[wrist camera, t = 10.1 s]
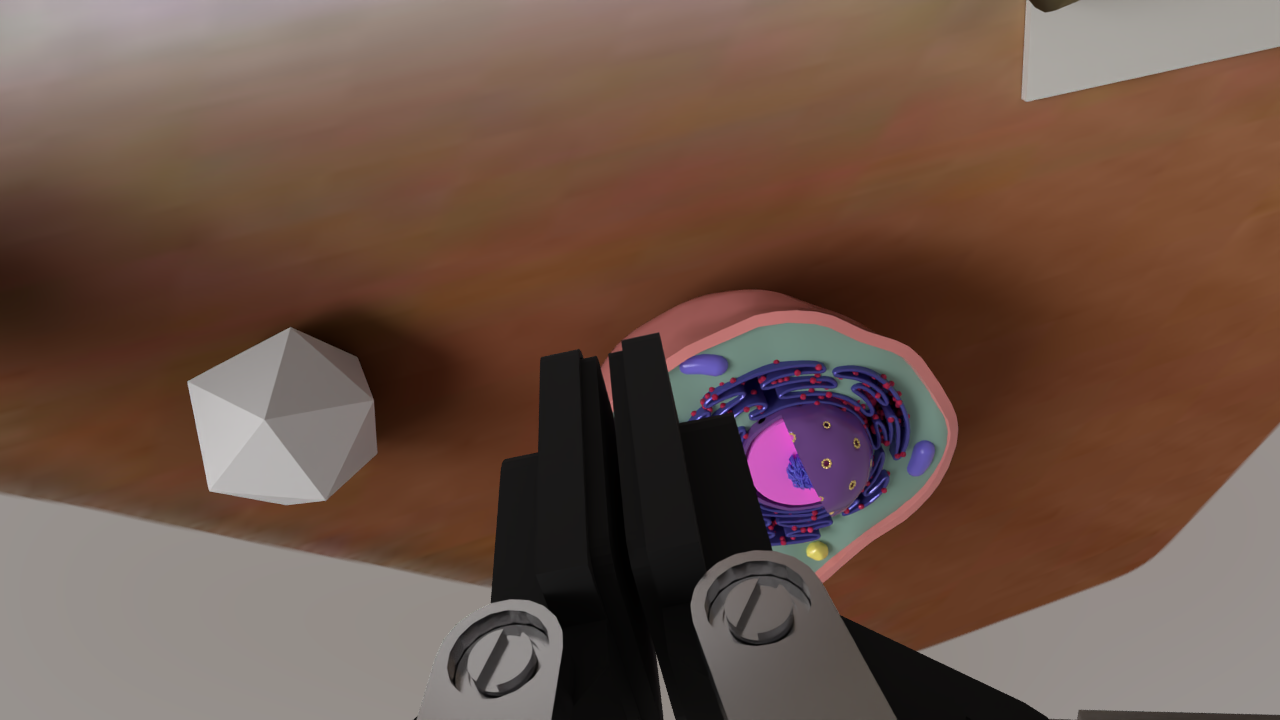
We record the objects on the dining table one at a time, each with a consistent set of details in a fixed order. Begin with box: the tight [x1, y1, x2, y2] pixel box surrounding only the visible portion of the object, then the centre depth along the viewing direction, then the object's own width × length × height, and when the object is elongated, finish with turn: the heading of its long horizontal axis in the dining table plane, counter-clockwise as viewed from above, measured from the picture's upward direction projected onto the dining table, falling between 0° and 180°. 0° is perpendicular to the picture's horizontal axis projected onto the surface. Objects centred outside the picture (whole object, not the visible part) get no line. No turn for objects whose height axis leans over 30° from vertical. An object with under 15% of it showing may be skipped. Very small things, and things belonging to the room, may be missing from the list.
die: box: [187, 327, 377, 505], centre depth 42 cm, size 8×9×10 cm
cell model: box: [601, 289, 958, 583], centre depth 43 cm, size 17×20×11 cm
